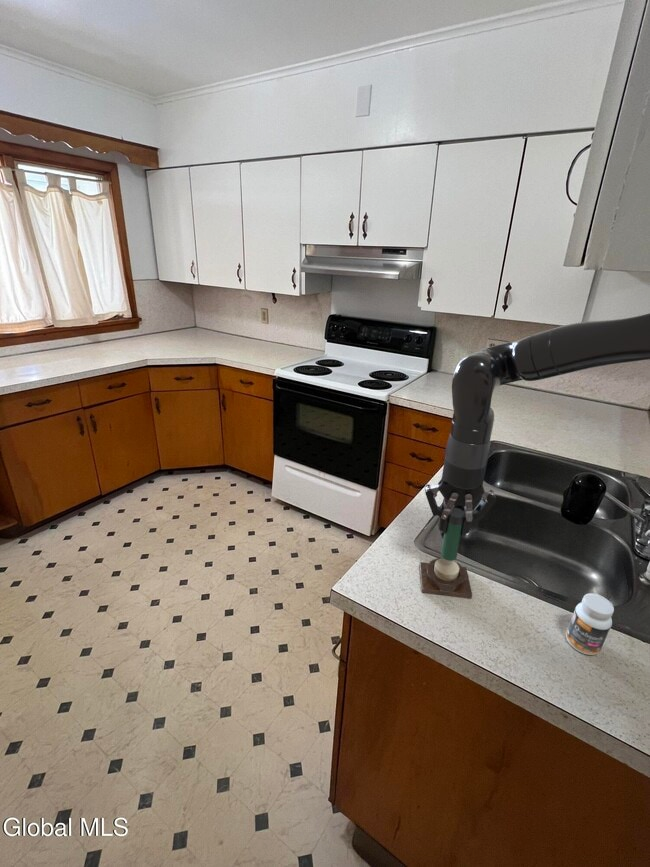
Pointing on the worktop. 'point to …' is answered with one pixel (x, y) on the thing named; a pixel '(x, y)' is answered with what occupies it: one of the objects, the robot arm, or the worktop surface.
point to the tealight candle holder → (444, 582)
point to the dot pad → (446, 569)
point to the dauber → (452, 534)
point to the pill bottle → (590, 624)
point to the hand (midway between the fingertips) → (452, 531)
